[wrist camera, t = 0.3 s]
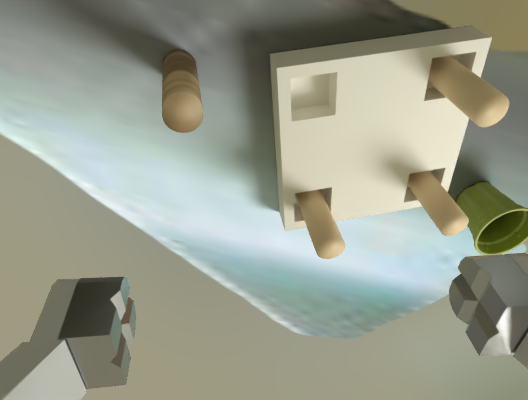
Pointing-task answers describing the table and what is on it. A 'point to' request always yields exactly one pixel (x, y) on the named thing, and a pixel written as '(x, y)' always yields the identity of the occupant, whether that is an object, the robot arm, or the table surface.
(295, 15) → the table surface
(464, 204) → the plant pot
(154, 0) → the table surface
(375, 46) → the stool seat
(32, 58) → the table surface
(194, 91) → the stool leg
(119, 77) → the table surface
